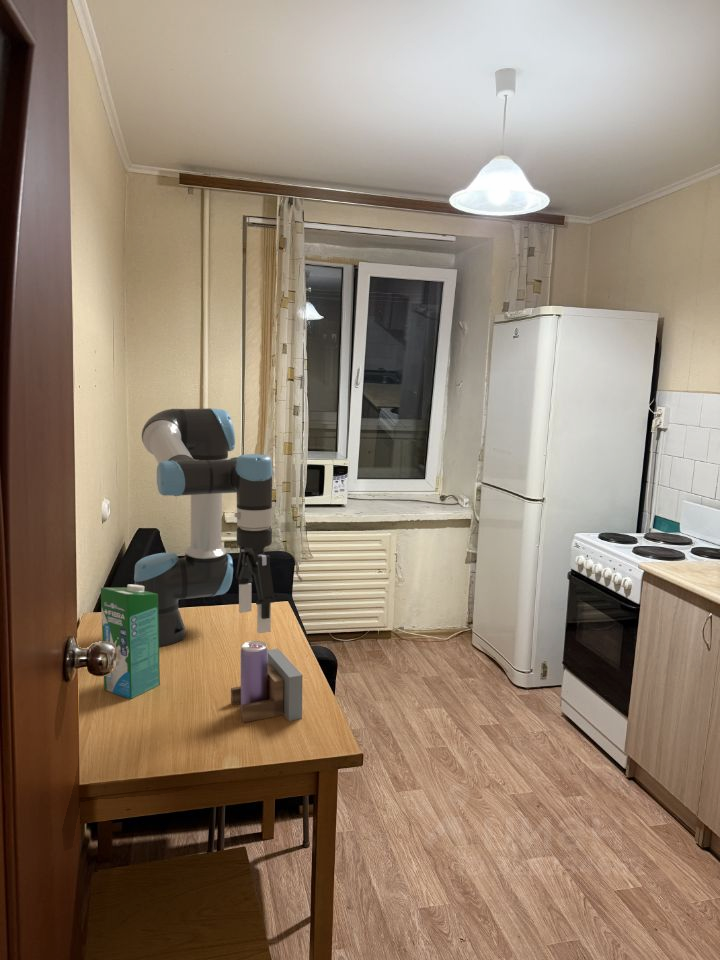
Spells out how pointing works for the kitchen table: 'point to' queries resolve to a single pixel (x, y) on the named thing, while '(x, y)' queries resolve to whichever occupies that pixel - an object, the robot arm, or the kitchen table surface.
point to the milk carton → (131, 639)
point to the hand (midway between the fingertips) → (254, 621)
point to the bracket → (262, 707)
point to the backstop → (288, 684)
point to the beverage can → (254, 672)
